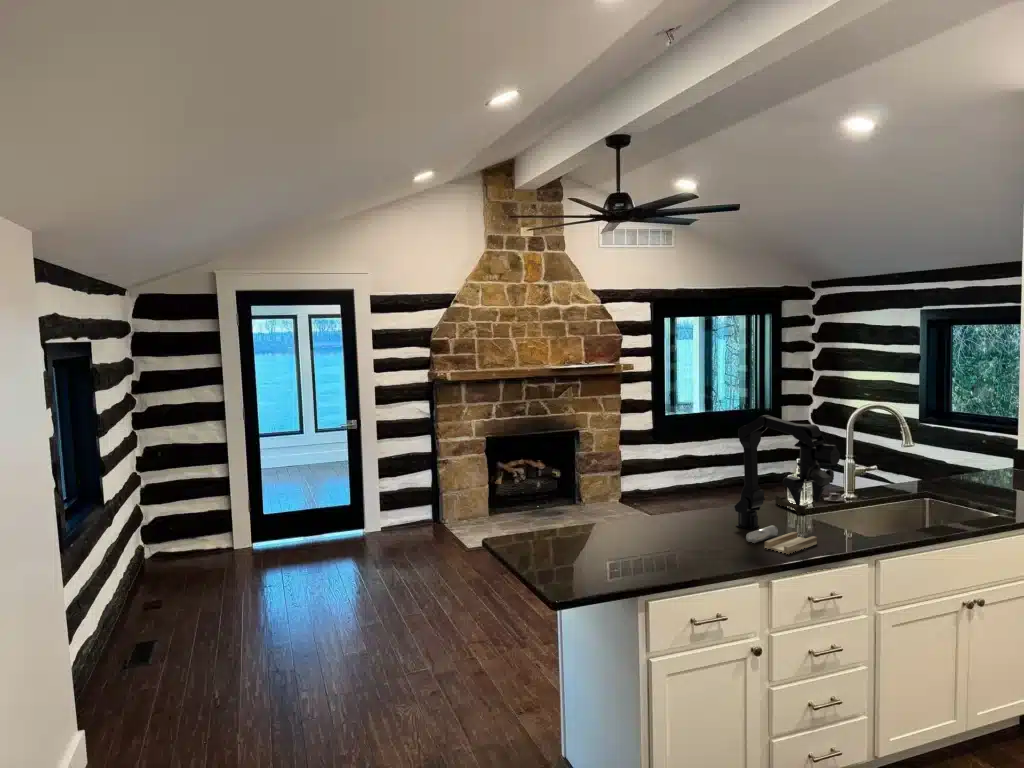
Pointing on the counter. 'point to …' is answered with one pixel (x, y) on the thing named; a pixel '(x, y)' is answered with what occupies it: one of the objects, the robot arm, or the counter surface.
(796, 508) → the hand tool
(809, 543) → the cradle
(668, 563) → the counter surface
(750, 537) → the axle
